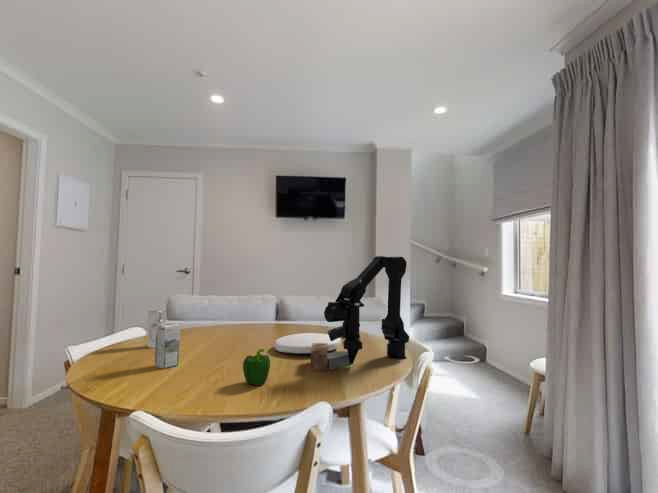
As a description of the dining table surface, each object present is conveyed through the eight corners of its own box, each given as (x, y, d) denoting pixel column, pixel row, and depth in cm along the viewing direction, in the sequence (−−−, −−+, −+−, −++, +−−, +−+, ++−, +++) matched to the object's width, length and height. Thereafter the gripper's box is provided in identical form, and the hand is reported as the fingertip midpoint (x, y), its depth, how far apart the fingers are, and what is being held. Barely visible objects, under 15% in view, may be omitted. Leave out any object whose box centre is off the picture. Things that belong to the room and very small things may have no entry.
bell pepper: (249, 389, 101) (250, 354, 102) (238, 381, 108) (239, 349, 108) (275, 384, 106) (276, 350, 106) (263, 376, 113) (264, 345, 113)
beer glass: (149, 344, 154) (151, 310, 155) (166, 344, 155) (167, 310, 155) (143, 348, 147) (144, 312, 148) (160, 348, 148) (161, 312, 148)
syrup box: (169, 362, 127) (171, 322, 128) (179, 365, 123) (180, 324, 124) (154, 366, 122) (155, 324, 123) (163, 369, 119) (165, 326, 119)
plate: (266, 344, 137) (282, 331, 164) (267, 361, 137) (283, 345, 163) (337, 339, 135) (341, 327, 161) (338, 356, 134) (342, 341, 161)
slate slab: (342, 360, 133) (342, 350, 133) (353, 364, 129) (353, 353, 129) (318, 366, 125) (318, 355, 125) (329, 370, 121) (329, 359, 121)
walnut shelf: (327, 361, 131) (327, 343, 131) (327, 371, 119) (327, 351, 120) (312, 361, 131) (312, 343, 131) (310, 371, 119) (310, 350, 120)
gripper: (329, 315, 135) (328, 356, 134) (329, 324, 116) (328, 371, 116) (357, 315, 135) (357, 356, 134) (362, 324, 116) (362, 371, 116)
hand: (351, 363), depth 125 cm, fingers closed
